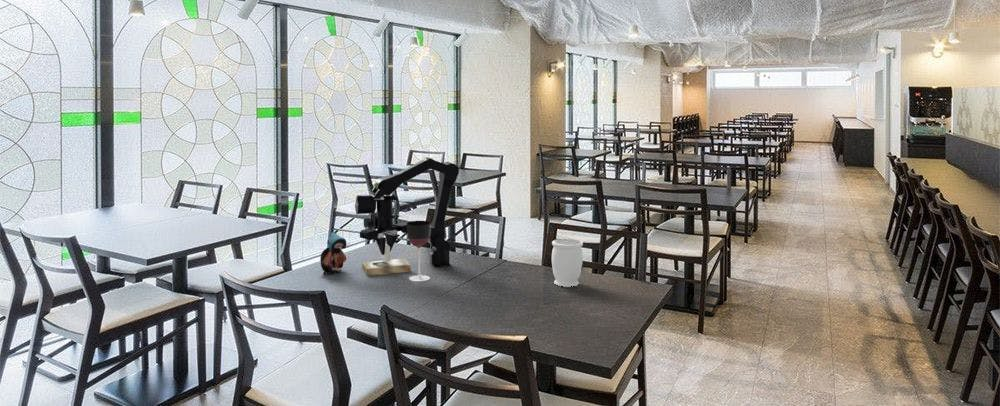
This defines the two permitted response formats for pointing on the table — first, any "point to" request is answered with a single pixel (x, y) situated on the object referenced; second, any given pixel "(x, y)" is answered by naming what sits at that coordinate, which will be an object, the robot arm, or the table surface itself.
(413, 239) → the wineglass
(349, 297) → the table surface
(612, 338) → the table surface
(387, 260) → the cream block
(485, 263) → the table surface
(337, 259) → the figurine
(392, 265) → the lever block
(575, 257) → the jar
